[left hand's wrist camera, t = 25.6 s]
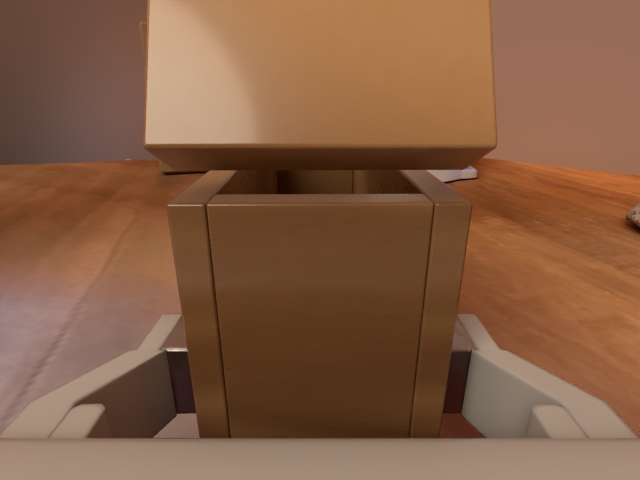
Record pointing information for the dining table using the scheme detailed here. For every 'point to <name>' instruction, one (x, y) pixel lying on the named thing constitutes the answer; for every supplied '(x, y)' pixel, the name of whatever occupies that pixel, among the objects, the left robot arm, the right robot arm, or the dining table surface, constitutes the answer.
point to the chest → (319, 300)
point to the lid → (319, 84)
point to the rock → (634, 215)
